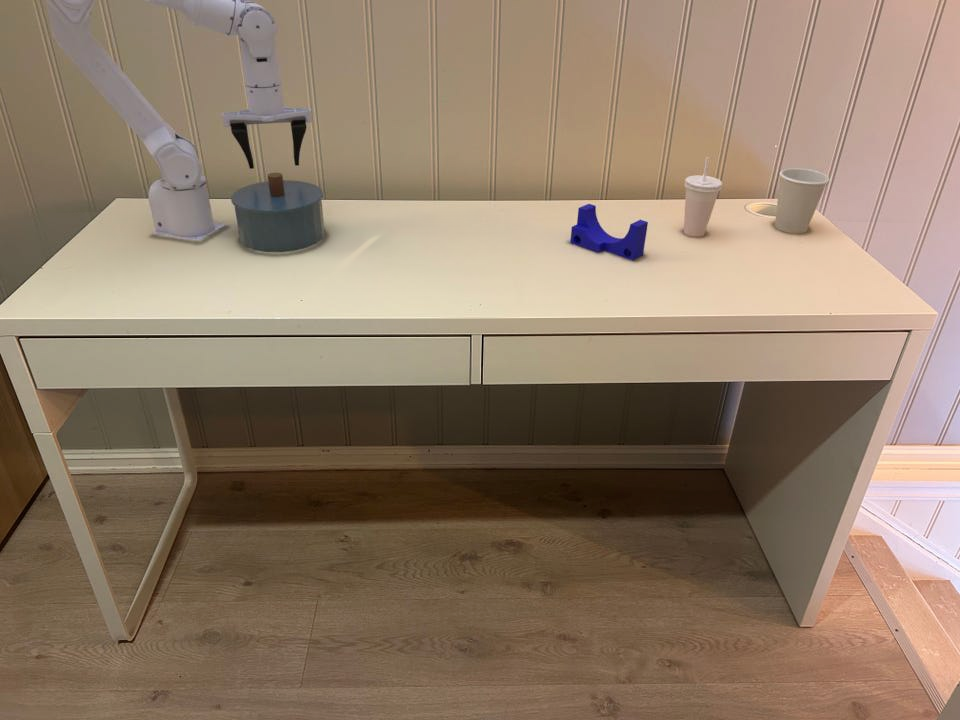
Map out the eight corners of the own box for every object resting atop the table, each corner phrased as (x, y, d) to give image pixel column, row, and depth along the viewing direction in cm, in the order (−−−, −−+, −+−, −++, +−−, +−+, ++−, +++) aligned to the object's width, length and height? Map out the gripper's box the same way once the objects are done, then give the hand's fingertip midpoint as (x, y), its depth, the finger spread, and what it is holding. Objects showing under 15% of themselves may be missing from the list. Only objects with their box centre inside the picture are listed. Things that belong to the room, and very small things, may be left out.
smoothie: (673, 236, 131) (686, 158, 124) (679, 224, 137) (692, 149, 129) (709, 241, 129) (725, 163, 122) (714, 229, 135) (729, 153, 127)
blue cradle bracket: (570, 242, 128) (573, 210, 125) (585, 235, 131) (588, 203, 128) (628, 263, 121) (632, 229, 118) (643, 255, 124) (648, 222, 121)
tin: (223, 248, 123) (216, 205, 119) (268, 219, 135) (263, 179, 131) (298, 260, 120) (293, 217, 116) (338, 229, 131) (335, 189, 127)
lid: (213, 210, 119) (208, 183, 117) (263, 182, 131) (259, 157, 129) (295, 222, 116) (292, 194, 113) (338, 192, 128) (336, 166, 125)
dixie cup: (815, 239, 132) (830, 185, 126) (766, 232, 134) (779, 178, 129) (814, 223, 138) (828, 171, 133) (767, 216, 141) (780, 165, 135)
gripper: (216, 91, 116) (231, 175, 123) (309, 87, 119) (318, 169, 127) (217, 82, 122) (231, 163, 129) (306, 78, 125) (315, 157, 132)
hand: (274, 165), depth 128 cm, fingers open, 7 cm apart
